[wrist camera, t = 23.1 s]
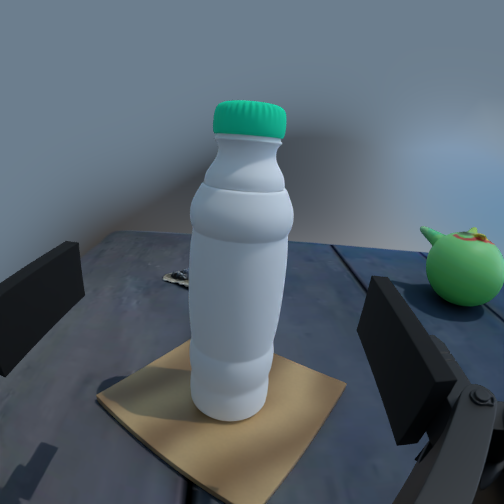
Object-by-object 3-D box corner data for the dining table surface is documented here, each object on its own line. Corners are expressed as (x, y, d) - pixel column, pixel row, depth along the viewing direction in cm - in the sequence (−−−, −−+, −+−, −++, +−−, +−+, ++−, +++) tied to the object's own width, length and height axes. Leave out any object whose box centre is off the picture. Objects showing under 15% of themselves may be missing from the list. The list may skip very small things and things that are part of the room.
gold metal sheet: (97, 401, 25) (95, 394, 25) (213, 330, 40) (213, 324, 39) (252, 519, 16) (253, 515, 16) (344, 389, 31) (347, 383, 30)
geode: (204, 292, 49) (204, 281, 48) (156, 286, 49) (155, 275, 49) (211, 274, 55) (211, 264, 55) (168, 269, 56) (167, 259, 55)
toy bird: (443, 322, 44) (470, 239, 39) (402, 280, 60) (419, 212, 55) (504, 318, 46) (529, 248, 41) (462, 282, 61) (479, 222, 56)
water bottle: (179, 383, 28) (182, 101, 20) (241, 366, 32) (266, 111, 24) (211, 435, 23) (228, 90, 14) (280, 408, 27) (328, 110, 18)
